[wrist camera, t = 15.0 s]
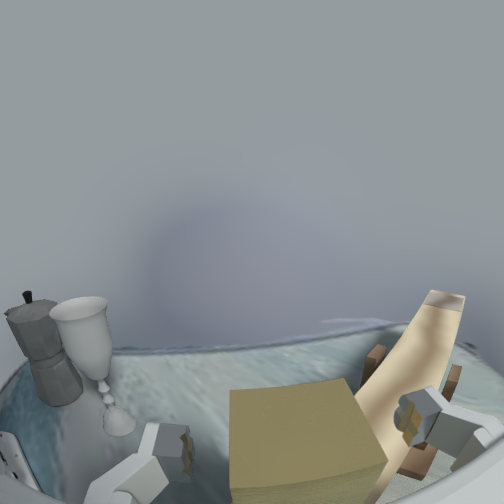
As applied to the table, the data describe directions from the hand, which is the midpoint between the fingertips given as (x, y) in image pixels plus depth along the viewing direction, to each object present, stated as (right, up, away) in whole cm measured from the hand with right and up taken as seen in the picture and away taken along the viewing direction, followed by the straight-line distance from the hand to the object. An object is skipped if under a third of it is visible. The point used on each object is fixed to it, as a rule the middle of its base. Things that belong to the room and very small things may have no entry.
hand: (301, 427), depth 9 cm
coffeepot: (-33, -17, +26) cm, 45 cm away
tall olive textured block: (0, -9, +1) cm, 9 cm away
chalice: (-20, -17, +21) cm, 34 cm away
